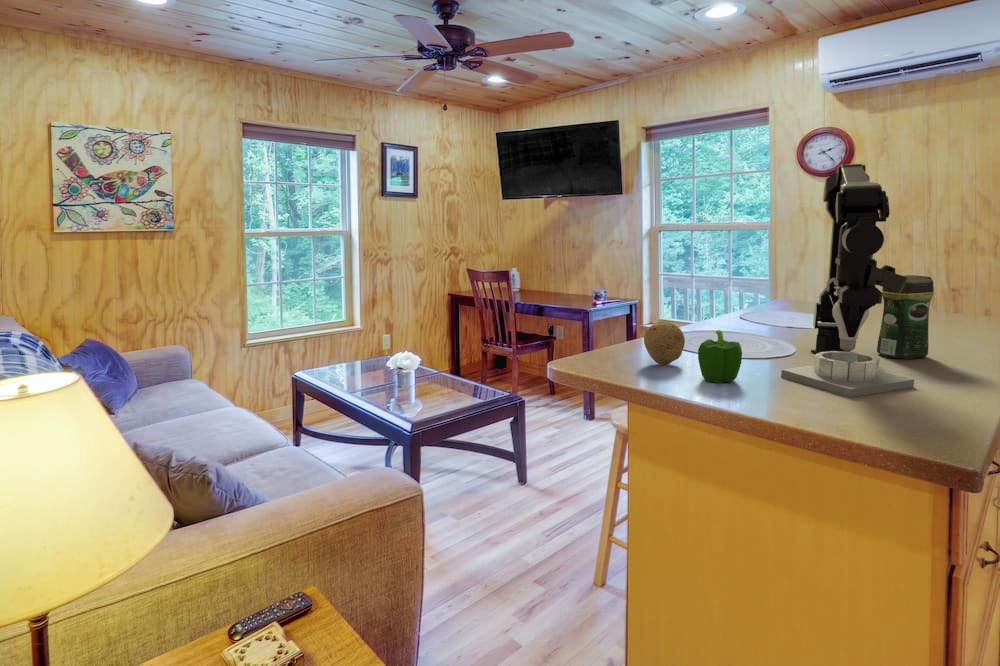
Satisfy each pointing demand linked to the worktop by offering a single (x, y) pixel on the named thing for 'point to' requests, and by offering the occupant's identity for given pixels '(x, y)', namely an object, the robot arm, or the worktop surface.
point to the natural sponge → (664, 342)
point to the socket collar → (846, 366)
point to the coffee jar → (906, 319)
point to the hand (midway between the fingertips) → (848, 334)
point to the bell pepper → (719, 359)
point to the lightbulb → (845, 341)
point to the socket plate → (848, 382)
